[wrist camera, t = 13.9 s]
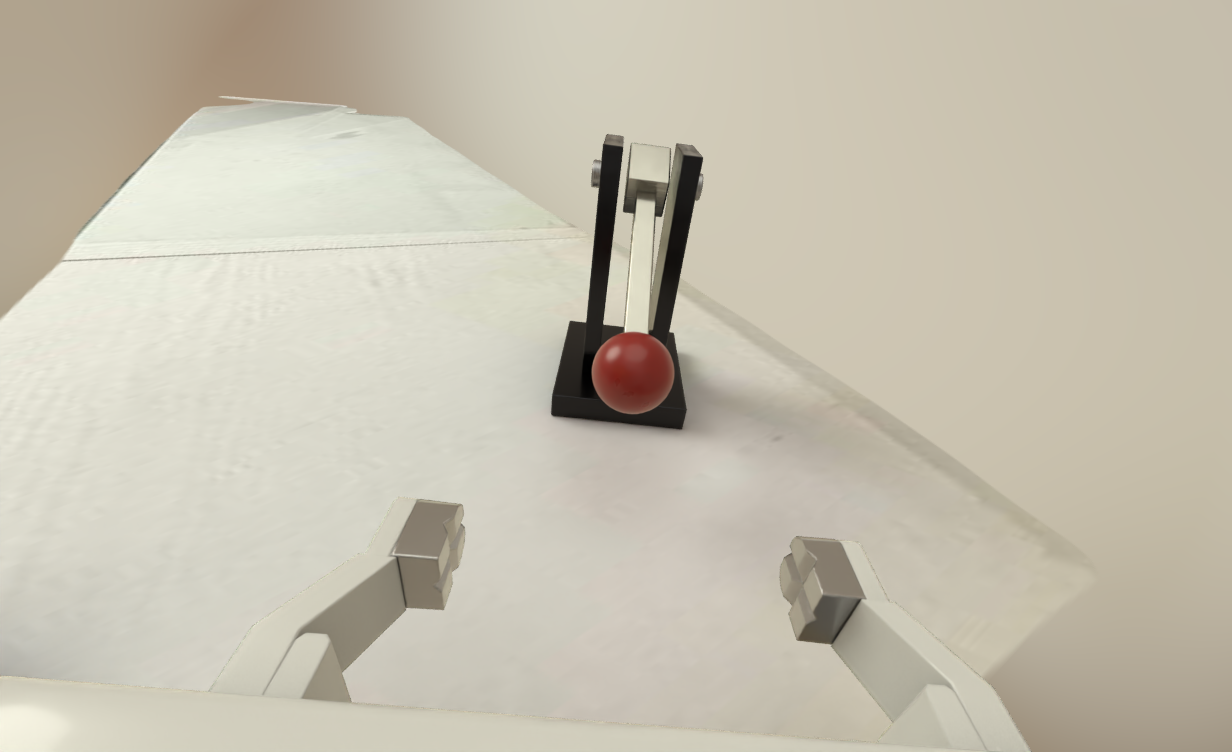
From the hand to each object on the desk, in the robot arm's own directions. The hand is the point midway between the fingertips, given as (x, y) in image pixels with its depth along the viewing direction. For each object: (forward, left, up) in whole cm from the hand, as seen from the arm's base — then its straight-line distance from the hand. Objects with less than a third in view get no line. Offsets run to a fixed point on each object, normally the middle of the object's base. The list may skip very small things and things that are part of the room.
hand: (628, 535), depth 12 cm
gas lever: (+13, -9, 0) cm, 16 cm away
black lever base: (+17, -11, -8) cm, 22 cm away
